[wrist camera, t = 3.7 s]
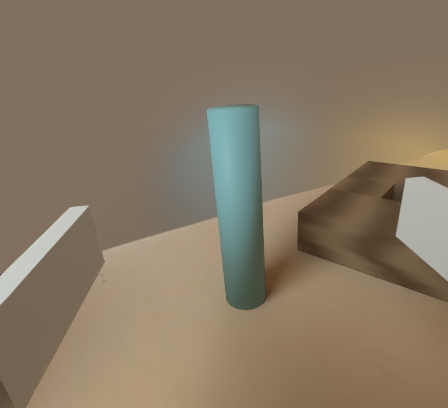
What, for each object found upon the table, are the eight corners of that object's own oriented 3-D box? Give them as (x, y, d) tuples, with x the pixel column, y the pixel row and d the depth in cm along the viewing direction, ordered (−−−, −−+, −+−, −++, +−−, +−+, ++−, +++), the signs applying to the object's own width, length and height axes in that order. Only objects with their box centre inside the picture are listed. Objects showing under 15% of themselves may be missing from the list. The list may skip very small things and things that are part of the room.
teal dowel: (273, 292, 27) (269, 104, 21) (249, 316, 25) (235, 112, 18) (242, 277, 29) (230, 104, 23) (217, 298, 27) (195, 111, 20)
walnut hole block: (506, 215, 36) (518, 179, 34) (489, 316, 23) (507, 266, 21) (365, 189, 46) (368, 161, 44) (297, 249, 33) (298, 212, 31)
